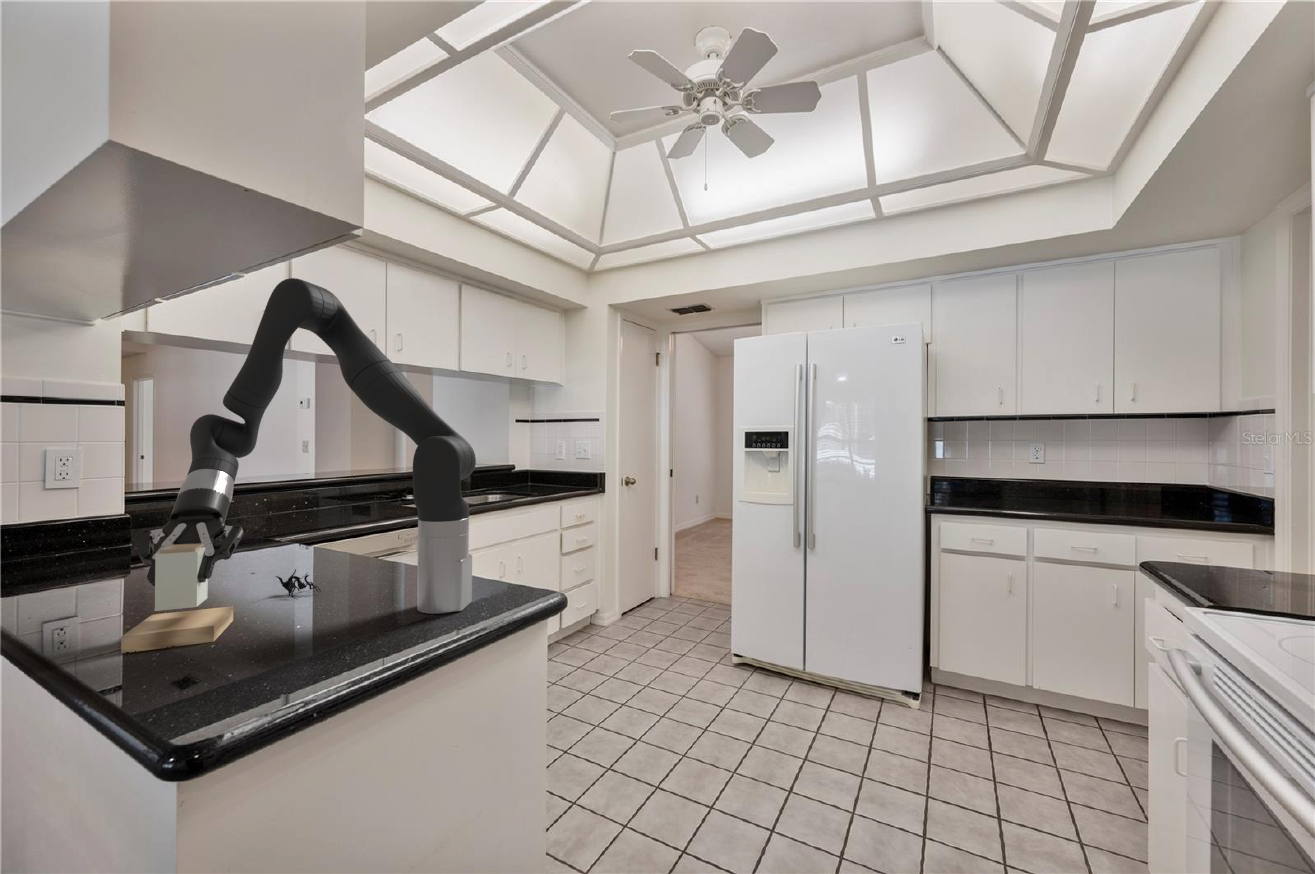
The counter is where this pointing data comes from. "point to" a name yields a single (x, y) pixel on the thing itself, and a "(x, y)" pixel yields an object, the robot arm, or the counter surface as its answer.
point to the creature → (290, 585)
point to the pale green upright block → (179, 577)
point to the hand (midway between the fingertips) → (178, 581)
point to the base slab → (177, 629)
